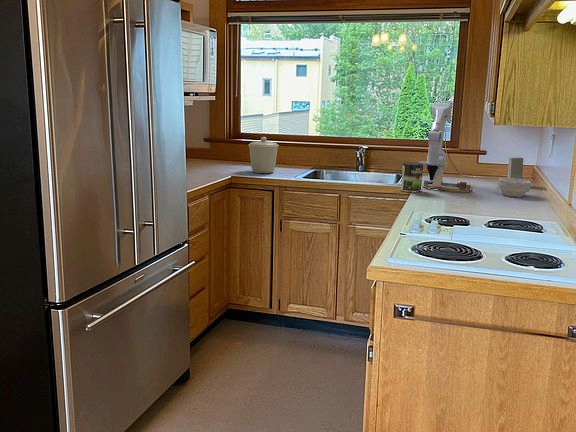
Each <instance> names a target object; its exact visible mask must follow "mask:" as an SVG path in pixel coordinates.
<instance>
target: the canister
mask: <svg viewBox="0 0 576 432" xmlns="http://www.w3.org/2000/svg"><path fill="white" fill-rule="evenodd" d="M267 139H268V138H267V137H266V136H261V137H260V141H251V142H250V143H249V144H248V145H247V146H248V147H249V159H250V167H251V170H252V172H253V173H255V172H256V174H261V173H267V174H272V173H274V171H275V168H276V163H277V155H278V149H279V146H280V145H279V144H278V143H277V142H274V141H267Z"/></svg>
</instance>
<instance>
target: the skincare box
mask: <svg viewBox="0 0 576 432" xmlns="http://www.w3.org/2000/svg"><path fill="white" fill-rule="evenodd" d="M523 170H524V157H521V156H508V164H507V178H516V179H523V173H524V172H523Z"/></svg>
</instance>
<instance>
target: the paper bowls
mask: <svg viewBox="0 0 576 432" xmlns="http://www.w3.org/2000/svg"><path fill="white" fill-rule="evenodd" d="M531 184H532V182H531V181H530V180H527V179H523V178H522V179H516V178H508V177H499V178H498V182H497V189H500V193H501V194H502V195H503V196H506V197H510V198H511V197H515V198H521V197H525V194H527V193H530V192H531Z"/></svg>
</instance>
